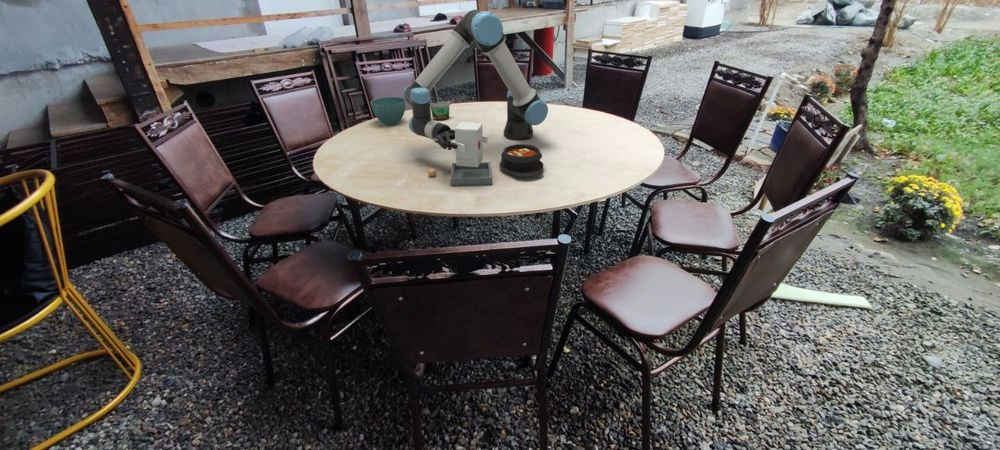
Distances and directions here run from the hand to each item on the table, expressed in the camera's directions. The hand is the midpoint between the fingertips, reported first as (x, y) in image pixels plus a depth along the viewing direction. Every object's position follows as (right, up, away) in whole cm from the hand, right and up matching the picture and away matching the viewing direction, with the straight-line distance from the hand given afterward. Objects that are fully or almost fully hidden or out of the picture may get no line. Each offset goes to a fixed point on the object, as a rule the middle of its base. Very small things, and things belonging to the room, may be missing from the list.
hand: (476, 144), depth 160 cm
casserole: (+18, -7, +17) cm, 26 cm away
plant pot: (-51, +25, +71) cm, 91 cm away
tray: (-2, -11, +10) cm, 15 cm away
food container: (-23, +28, +77) cm, 85 cm away
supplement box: (-3, -6, +7) cm, 9 cm away
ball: (-18, -11, +11) cm, 24 cm away
